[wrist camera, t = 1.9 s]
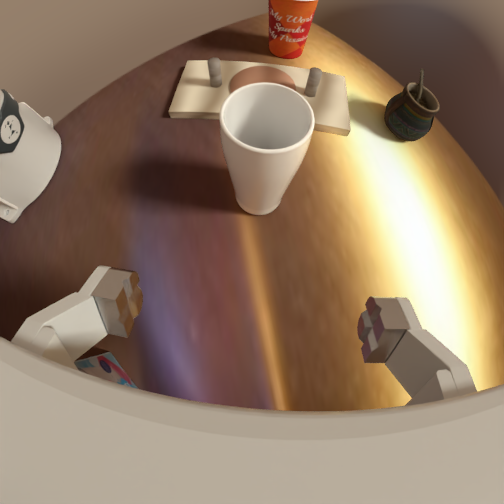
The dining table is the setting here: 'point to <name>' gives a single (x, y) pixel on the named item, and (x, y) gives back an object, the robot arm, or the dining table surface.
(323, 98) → the pin board
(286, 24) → the paper cup
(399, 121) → the mate gourd
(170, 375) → the dining table surface
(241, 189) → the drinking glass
